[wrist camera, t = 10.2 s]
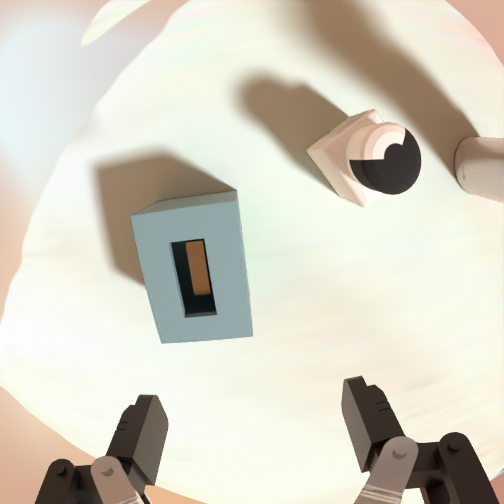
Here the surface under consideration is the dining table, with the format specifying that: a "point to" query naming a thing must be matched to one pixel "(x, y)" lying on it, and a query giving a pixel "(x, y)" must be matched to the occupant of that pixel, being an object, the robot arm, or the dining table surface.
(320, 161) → the container
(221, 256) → the coin box
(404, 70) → the dining table surface
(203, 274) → the block
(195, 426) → the dining table surface
